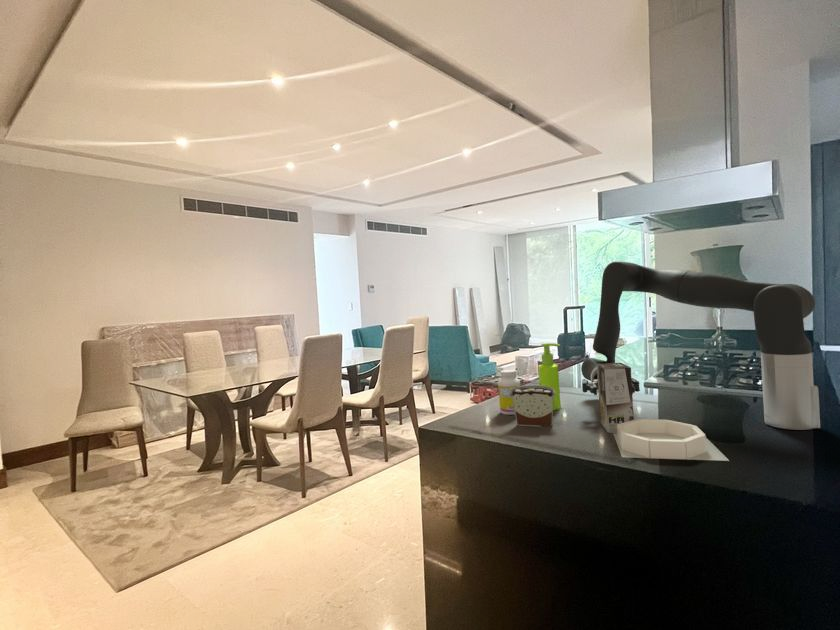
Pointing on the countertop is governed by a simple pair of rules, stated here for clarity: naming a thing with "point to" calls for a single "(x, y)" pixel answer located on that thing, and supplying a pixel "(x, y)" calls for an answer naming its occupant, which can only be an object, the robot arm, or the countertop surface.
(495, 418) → the countertop surface
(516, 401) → the food container
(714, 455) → the mat
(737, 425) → the countertop surface
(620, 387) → the coffee box
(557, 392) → the soap dispenser
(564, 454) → the countertop surface
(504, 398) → the supplement bottle
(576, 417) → the countertop surface
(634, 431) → the bowl
